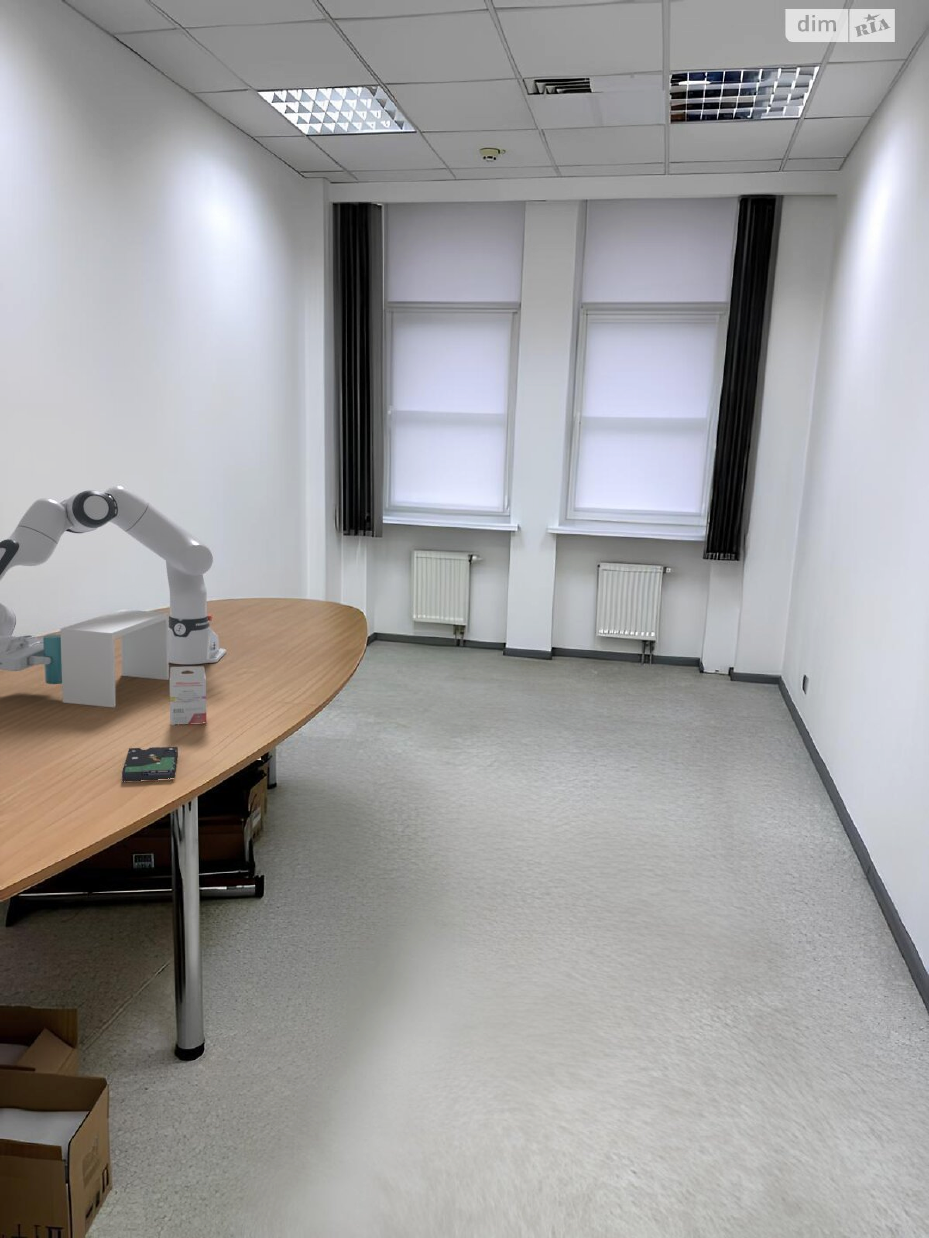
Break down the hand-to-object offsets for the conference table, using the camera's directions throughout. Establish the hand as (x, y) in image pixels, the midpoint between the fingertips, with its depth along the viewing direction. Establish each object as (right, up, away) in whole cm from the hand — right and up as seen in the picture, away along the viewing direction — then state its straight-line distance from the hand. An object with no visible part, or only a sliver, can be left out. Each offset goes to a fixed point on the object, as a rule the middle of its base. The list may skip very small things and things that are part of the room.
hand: (59, 657), depth 224 cm
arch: (+11, -10, +12) cm, 19 cm away
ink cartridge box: (+38, -16, -11) cm, 42 cm away
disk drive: (+40, -22, -42) cm, 62 cm away
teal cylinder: (-1, -6, +1) cm, 7 cm away
